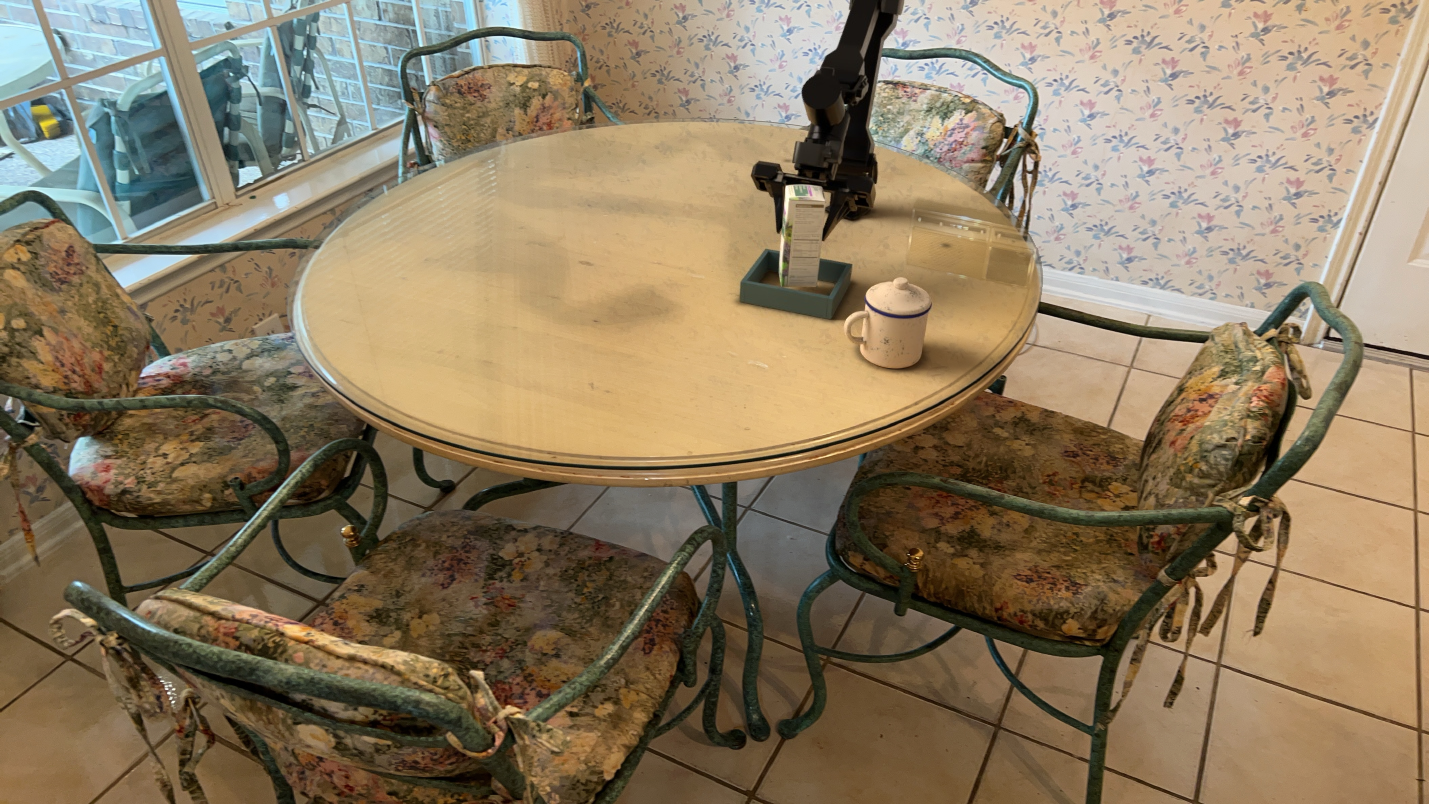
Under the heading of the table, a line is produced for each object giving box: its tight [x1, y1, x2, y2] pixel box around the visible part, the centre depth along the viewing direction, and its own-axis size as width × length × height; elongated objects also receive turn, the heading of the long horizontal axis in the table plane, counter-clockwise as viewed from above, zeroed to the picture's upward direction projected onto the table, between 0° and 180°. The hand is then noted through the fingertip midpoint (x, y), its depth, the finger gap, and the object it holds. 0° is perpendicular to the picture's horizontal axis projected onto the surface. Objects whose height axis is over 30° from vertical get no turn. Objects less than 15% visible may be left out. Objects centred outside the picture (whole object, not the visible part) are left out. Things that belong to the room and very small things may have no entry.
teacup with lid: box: [843, 276, 933, 369], centre depth 125 cm, size 12×9×12 cm
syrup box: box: [778, 185, 827, 288], centre depth 137 cm, size 6×6×14 cm
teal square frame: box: [739, 248, 853, 320], centre depth 142 cm, size 13×15×4 cm
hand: (799, 236), depth 137 cm, fingers closed on syrup box, 7 cm apart
